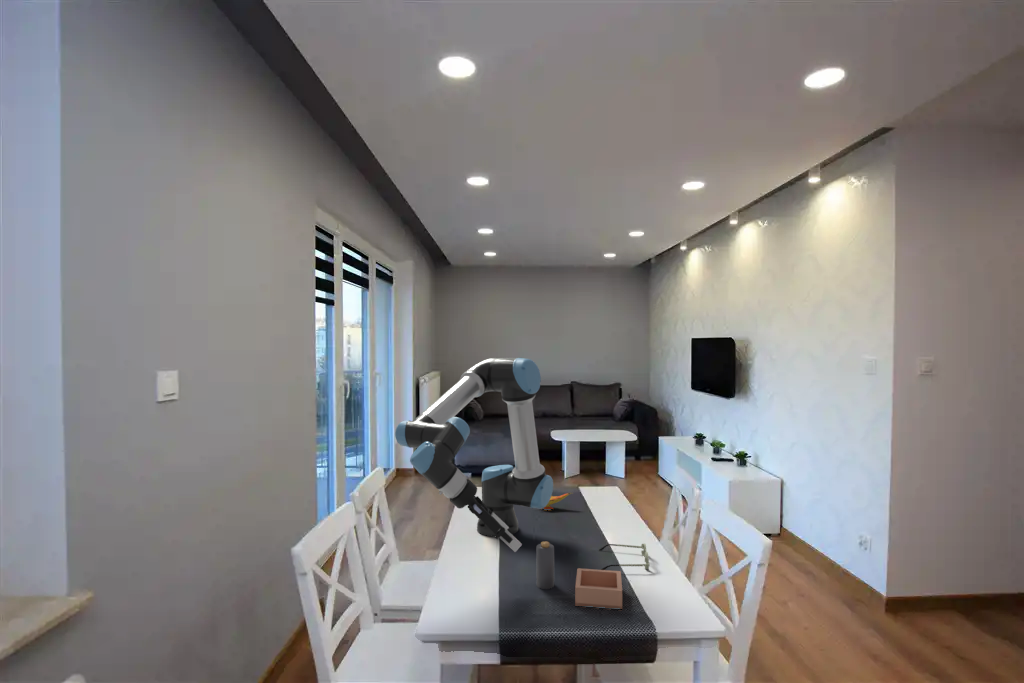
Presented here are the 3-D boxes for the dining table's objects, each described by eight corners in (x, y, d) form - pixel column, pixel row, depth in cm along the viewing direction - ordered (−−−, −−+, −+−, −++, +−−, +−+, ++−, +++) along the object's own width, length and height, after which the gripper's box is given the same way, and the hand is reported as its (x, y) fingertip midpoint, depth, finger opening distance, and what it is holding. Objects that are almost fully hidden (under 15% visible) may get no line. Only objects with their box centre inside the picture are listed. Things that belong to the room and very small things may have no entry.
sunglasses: (650, 576, 160) (650, 559, 160) (598, 572, 162) (598, 556, 162) (644, 553, 177) (644, 538, 177) (597, 551, 179) (597, 536, 179)
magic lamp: (573, 511, 219) (573, 484, 219) (529, 510, 220) (528, 483, 220) (573, 506, 225) (573, 480, 225) (529, 505, 227) (529, 479, 227)
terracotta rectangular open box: (575, 606, 141) (575, 587, 141) (577, 585, 152) (577, 568, 152) (622, 610, 139) (622, 590, 139) (620, 589, 150) (620, 571, 150)
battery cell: (535, 588, 151) (535, 545, 151) (537, 580, 156) (537, 539, 156) (553, 589, 150) (553, 546, 150) (554, 582, 155) (554, 540, 155)
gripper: (442, 487, 157) (492, 533, 161) (455, 513, 133) (514, 567, 137) (460, 468, 159) (509, 514, 163) (477, 490, 135) (534, 544, 139)
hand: (511, 539), depth 150 cm, fingers open, 13 cm apart
